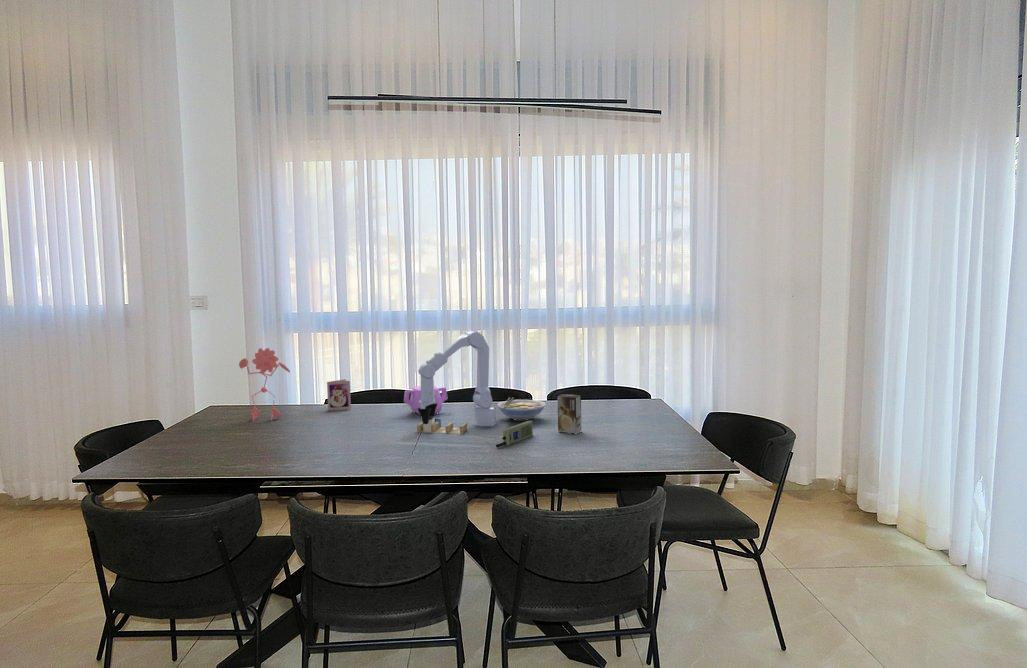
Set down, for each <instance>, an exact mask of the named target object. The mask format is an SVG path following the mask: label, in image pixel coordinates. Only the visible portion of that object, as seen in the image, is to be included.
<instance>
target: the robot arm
mask: <svg viewBox="0 0 1027 668" xmlns="http://www.w3.org/2000/svg"><path fill="white" fill-rule="evenodd" d="M464 347H465V348H466V347H472V348H473V349H474V350H475V351H476V352H477V355H476V356H477V358H476V361H477V363H476V387H475V389H474V393H473V395H472V401H473V403H474V404H475V405H474V425H475V426H476V427H494V426H496V424H497V409H496V408H495V407H492V404H493V398H492V394H491V389H490V387H489V377H490V376H489V370H490V368H489V367H490V365H489V364H490V347H489V345H488V343H487V341H486V339H485V336H484V335H483V334H481V333H480V332H478V331H473V330H469V329H468V330H466V331H465V332H463V333H462V334H460V336H459V337H457V339H455V340H454V341H453V342H452V343H451V344H450V345H449V346H448V347H447V348H446V349H444V351H438V352H435V353H433V356H432V357H431V358H430V359H429V360H426V361H425V363H423V364H421V365H420V367H419V369H418V374H419V375H420V386H421V401H419V403H421V404H420V408H418V411H419V413H420V415H421V416H420V417H421V422H423V424H428V422H429V416H434V417H435V415H436V414H435V410H436V407H437V405H438V404H437V403H435V398H434V386H435V380H434V376H435V374H436V372H438V371H439V370H440V369H441V368H443V366H444V365H445V364H447V363H448V359H449V358H450V357H451V356H452V355H454V354H455V353H456V352H458V351H459V350H460V349H461V348H464ZM419 413H418V414H419Z"/></svg>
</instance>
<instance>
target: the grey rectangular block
mask: <svg viewBox="0 0 1027 668" xmlns="http://www.w3.org/2000/svg"><path fill="white" fill-rule="evenodd" d="M435 418H436V417H435V415H434V416H429V422H428V424H423V431H431V426H432V425H433V424H434V423H435Z"/></svg>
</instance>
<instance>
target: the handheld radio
mask: <svg viewBox="0 0 1027 668" xmlns="http://www.w3.org/2000/svg"><path fill="white" fill-rule="evenodd" d="M501 431H502V440H503V441H502V442H499V443H497V444H495V447H496V449H497V448H498V449H499V448H501V447H502V446H503V447H504V446H505V445H508V446H510V444H511V445H513V444H516V443H518V442H521V441H523V440H522V439H524V438H526V439H528V438H527V437H529V436H531V437H533V436H532V435H534V431H533V420H526V421H523V422H522V423H518V424H516V425H513V426H510V427H508V428H504V429H502V430H501ZM529 438H530V437H529ZM520 440H521V441H520ZM524 440H525V439H524ZM517 441H518V442H517ZM515 442H516V443H515ZM512 443H513V444H512Z"/></svg>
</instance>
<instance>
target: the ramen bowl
mask: <svg viewBox="0 0 1027 668" xmlns="http://www.w3.org/2000/svg"><path fill="white" fill-rule="evenodd" d="M497 406H498V408H499V411H500V412H501V413H502V414H503V415H504V416H506V417H507V418H509V419H513V420H514V419H516V420H515V421H517V420H526V419H529V420H531V419H532V418H535V417H537V416H538V415H539V414H541V412H542V411H543V410H544V409H545V407H546V403H545V402H543V401H541V400H537V399H535V400H534V399H515V397H510V396H509V397H508V399H507V400H505V401H500V402H498V403H497ZM526 421H527V420H526Z"/></svg>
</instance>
